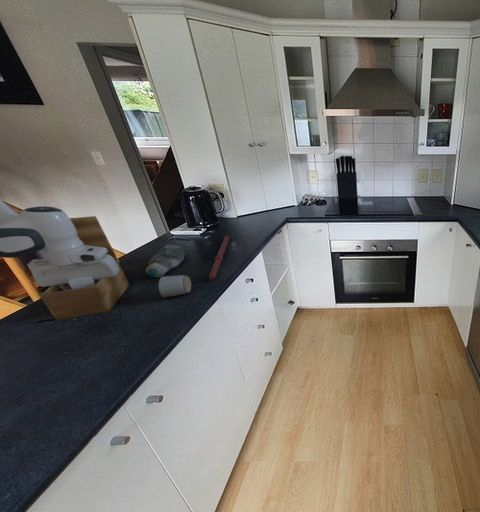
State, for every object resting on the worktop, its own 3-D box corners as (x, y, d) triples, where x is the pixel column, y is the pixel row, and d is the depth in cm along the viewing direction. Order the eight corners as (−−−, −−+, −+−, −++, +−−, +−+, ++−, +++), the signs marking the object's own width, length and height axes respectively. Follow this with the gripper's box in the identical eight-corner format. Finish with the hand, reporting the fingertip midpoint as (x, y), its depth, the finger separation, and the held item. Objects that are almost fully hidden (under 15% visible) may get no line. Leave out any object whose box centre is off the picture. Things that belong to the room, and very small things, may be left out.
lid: (94, 216, 93) (101, 211, 97) (40, 221, 89) (50, 215, 93) (118, 262, 102) (123, 256, 106) (70, 268, 98) (78, 262, 102)
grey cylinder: (189, 297, 101) (182, 279, 97) (162, 301, 98) (155, 283, 95) (196, 283, 109) (190, 266, 106) (172, 286, 107) (165, 269, 104)
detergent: (160, 257, 129) (132, 283, 107) (156, 243, 126) (127, 267, 104) (192, 256, 132) (171, 281, 111) (189, 242, 130) (167, 266, 108)
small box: (82, 299, 97) (68, 273, 93) (104, 293, 101) (90, 268, 96) (82, 309, 92) (67, 282, 88) (105, 302, 96) (91, 276, 91)
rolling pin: (217, 280, 111) (215, 274, 110) (208, 281, 110) (206, 275, 109) (231, 239, 149) (230, 234, 148) (224, 240, 148) (223, 235, 147)
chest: (109, 310, 93) (96, 286, 88) (56, 320, 88) (39, 295, 84) (129, 285, 107) (119, 263, 103) (84, 291, 103) (71, 269, 98)
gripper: (17, 265, 82) (42, 302, 88) (103, 254, 89) (121, 289, 96) (31, 256, 88) (54, 292, 94) (112, 247, 95) (128, 281, 101)
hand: (88, 290), depth 95 cm, fingers closed on small box, 7 cm apart
